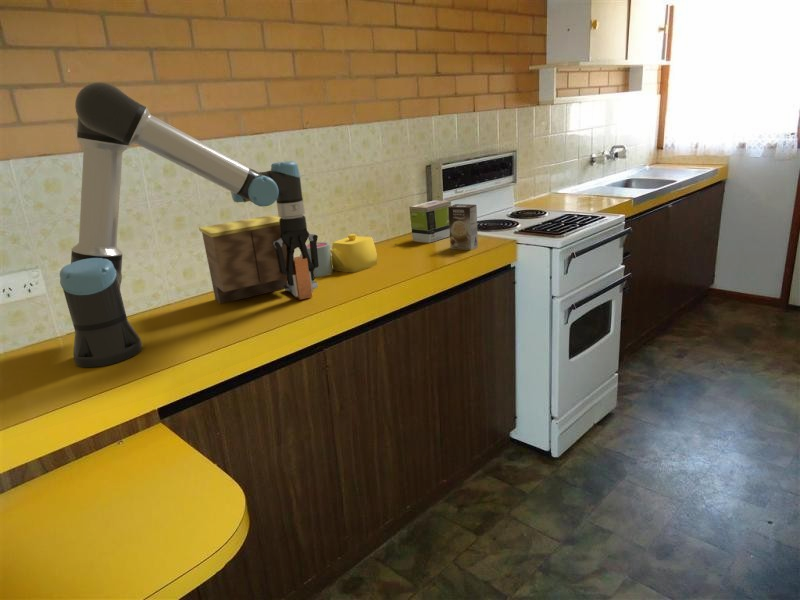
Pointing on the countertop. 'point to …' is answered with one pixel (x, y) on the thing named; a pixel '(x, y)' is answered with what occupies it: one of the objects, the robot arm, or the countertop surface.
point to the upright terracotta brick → (301, 278)
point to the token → (314, 284)
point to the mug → (322, 259)
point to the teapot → (353, 253)
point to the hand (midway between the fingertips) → (302, 293)
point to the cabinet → (244, 257)
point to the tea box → (430, 221)
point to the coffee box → (463, 226)
